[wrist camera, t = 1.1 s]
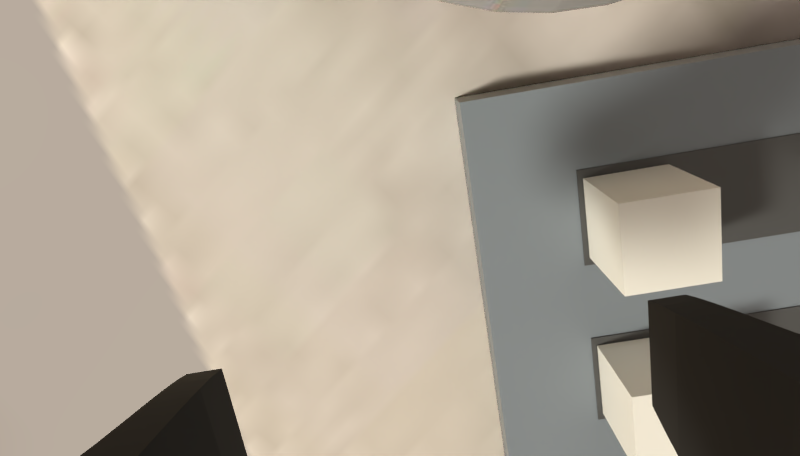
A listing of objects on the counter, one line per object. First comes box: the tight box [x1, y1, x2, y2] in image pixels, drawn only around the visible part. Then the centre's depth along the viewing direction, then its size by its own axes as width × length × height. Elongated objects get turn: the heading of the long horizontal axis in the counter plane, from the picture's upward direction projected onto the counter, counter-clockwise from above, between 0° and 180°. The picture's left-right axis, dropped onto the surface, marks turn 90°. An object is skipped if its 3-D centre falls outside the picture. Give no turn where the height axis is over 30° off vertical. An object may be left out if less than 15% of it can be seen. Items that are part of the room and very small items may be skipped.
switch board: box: [455, 39, 800, 456], centre depth 21 cm, size 19×16×2 cm
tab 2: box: [597, 338, 678, 456], centre depth 19 cm, size 2×2×3 cm
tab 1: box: [583, 164, 722, 297], centre depth 17 cm, size 2×2×3 cm
